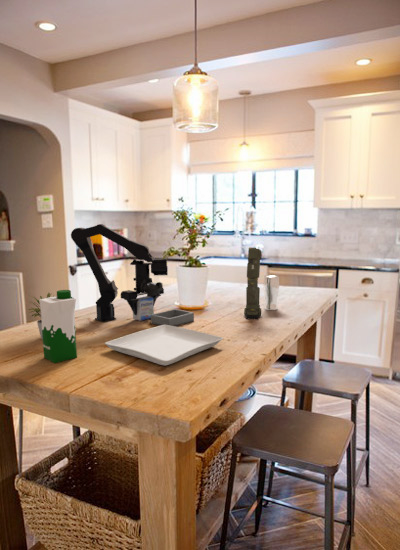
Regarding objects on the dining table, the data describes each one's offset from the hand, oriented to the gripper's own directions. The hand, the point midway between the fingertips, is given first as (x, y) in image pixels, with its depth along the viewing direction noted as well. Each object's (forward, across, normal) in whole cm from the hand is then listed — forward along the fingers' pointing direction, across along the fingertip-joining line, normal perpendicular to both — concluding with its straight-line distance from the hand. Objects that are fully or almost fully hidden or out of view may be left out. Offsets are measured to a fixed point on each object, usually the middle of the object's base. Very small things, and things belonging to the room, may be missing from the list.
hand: (143, 313), depth 167 cm
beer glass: (+2, +50, -30) cm, 58 cm away
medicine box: (+2, 0, 0) cm, 2 cm away
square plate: (+3, -21, -35) cm, 41 cm away
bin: (+2, +4, -13) cm, 14 cm away
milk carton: (+3, -47, -17) cm, 50 cm away
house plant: (+3, -39, +6) cm, 40 cm away
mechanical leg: (+2, +34, -31) cm, 46 cm away
